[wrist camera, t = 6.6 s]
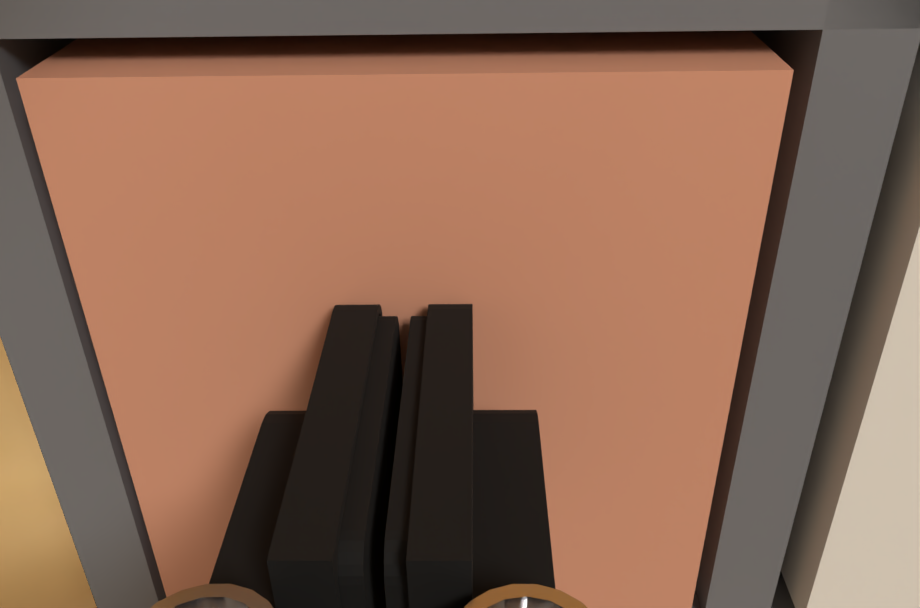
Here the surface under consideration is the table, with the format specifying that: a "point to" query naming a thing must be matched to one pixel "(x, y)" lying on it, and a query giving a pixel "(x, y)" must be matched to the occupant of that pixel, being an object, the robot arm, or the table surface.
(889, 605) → the key white
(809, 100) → the key console
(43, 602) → the table surface
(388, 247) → the key terracotta
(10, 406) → the table surface
